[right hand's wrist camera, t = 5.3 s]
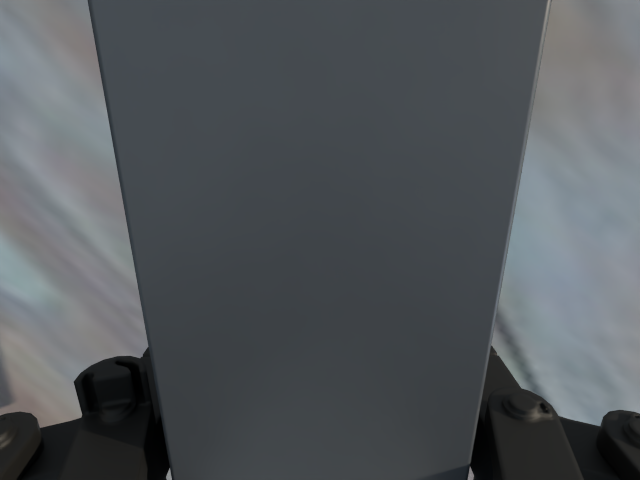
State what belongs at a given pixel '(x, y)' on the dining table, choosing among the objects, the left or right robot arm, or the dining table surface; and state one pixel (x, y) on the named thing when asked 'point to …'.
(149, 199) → the bar
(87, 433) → the right robot arm
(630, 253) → the dining table surface
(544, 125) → the dining table surface
